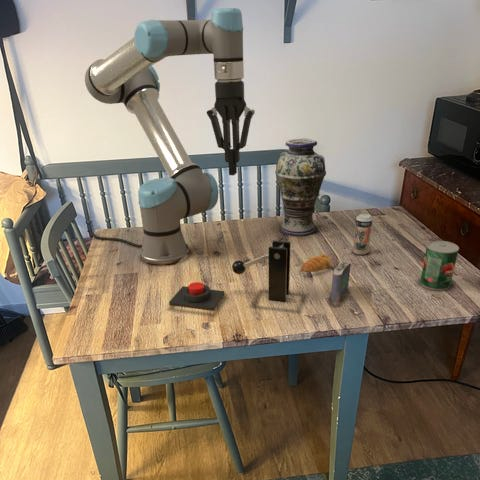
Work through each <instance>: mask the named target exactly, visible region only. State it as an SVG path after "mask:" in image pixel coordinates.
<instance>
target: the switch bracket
mask: <svg viewBox="0 0 480 480" xmlns="http://www.w3.org/2000/svg"><path fill="white" fill-rule="evenodd" d="M291 243H292V241H286V240H285V241H284V240H272V246H268V253H269V259H268V301H271V302H279V303H286V302H287V296H289V295H290V279H291ZM282 244H284V246H285V248H281V247H277V246H279V245H282Z"/></svg>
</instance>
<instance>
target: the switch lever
mask: <svg viewBox="0 0 480 480" xmlns="http://www.w3.org/2000/svg"><path fill="white" fill-rule="evenodd" d="M277 247H281V248H285V246H284V244H282V245H279V246H277ZM266 260H269V252H268V253H266V254H263V255H261V256H258V257H256V258H253V259H250V260H248V261H245V262H244V261H243V260H236V261H234V262H233V263H232V265H231V270H232V272H233V273H234V274H236V275H243V274H244V273H245V272H246V270H247V268H248V267H251V266H253V265H256V264H259V263H260V262H264V261H266Z"/></svg>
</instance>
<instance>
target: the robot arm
mask: <svg viewBox="0 0 480 480" xmlns="http://www.w3.org/2000/svg"><path fill="white" fill-rule="evenodd" d="M192 55H193V56H194V55H213V73H214V74H213V75H214V80H216V82H215V83H214V94H215V95H214V96H215V102H214V104H213V107H212V108H210V109H208V110H207V111H206V115H207V116H208V119H209V120H210V123H211V126H212V130H213V134H214V137H215V142H216V144H217V145H216V146H217V147H218V148H219V149H222V150H223V151H224V161H225V163H228V176H235V175H236V174H237V173H238V169H237V168H238V167H237V166H238V165H237V163H239V162H240V151H241V150H242V149H243V148H245V147H246V146H247V141H248V136H249V132H250V126H251V122H252V119H253V116H254V115H255V112H256V111H255V109H252V108H250V107H249V106H247V102H246V99H245V82H244V81H243V79H244V78H245V69H244V68H245V67H244V25H243V14H242V11H241V9H240V8H237V7H221V8H220V7H219V8H213V9H212V10H211V12H210V19H188V20H187V19H181V20H180V19H179V20H177V19H175V20H172V19H169V20H167V19H165V20H162V19H161V20H160V19H158V20H157V19H150V20H143V21H140V22H138V24H136V29H135V30H134V36H133V37H132V38H131V39H129V40H128V41H127V42H126V43H124V44H123V45H121V46H120V47H119V48H117V49H116V50H115V51H114V52H112V53H111V54H110V55H108V56H107V57H106V58H100V59H97V60H95V61H94V62H92V63H91V64H90V65H89V66H88V67H87V69H86V71H85V74H84V83H85V87H86V90H87V91H88V94H90V96H91V97H92V98H94V99H95V100H97V101H98V102H100V103H103V104H106V105H113V104H123V105H124V106H125V108H126V110H127V111H128V113H130V114H134V115H135V117H136V119H137V121H138V123H139V124H140V126H141V128H142V129H143V131H144V133H145V135H146V137H147V139H148V141H149V142H150V145H151V146H152V148H153V150H154V152H155V153H156V155H157V157H158V159H159V161H160V163H161V164H162V166H163V168H164V170H165V171H166V174H167V175H168V177H160V178H153V179H150V180H148V181H145V182H144V183H142V184H141V185H140V186H139V188H138V190H137V194H138V195H137V196H138V197H137V198H138V201H137V202H138V206H139V211H140V217H141V224H142V230H143V238H142V243H141V244H138V243H134V242H131V241H129V240H126V239H123V238H118V237H104V236H98V235H96V234H95V233H94V232H93V230H92V229H91V228H88V229H87V231H86V233H90V234H91V236H92V237H94V238H95V239H98V240H108V241H117V242H123V243H126V244H128V245H130V246H132V247H133V246H134V247H137V248H141V249H140V257H141V260H142V261H143V262H145V263H147V264H150V265H153V266H155V265H156V266H165V265H172V264H176V263H179V262H180V261H181V260H182V259H183V258H184V257H185V256H189V255H190V248H189V245H188V243H187V242H186V240H185V237H184V234H183V232H182V228H181V220H183V219H187V218H190V217H193V216H196V215H199V214H204V213H206V212H208V211H210V210H212V209H214V208H215V207H216V205H217V203H218V201H219V193H220V191H219V186H218V182H217V180H216V178H215V177H214V175H213V174H212V173H209V172H203V170H202V168H201V167H200V165H199V164H197V163H193V162H192V160H191V159H190V156H189V155H188V153H187V151H186V149H185V147H184V145H183V144H182V142H181V140H180V138H179V137H178V135H177V133H176V131H175V129H174V127H173V125H172V124H171V122H170V121H169V118H168V116H167V115H166V113H165V110H164V109H163V107H162V106H161V104H160V102H159V99H160V89H161V83H160V82H159V80H160V79H159V74H158V73H157V71H156V69H155V68H154V67H153V66H154V65H155V64H157V63H159V62H160V61H162V60H163V59H165V58H168V57H175V56H176V57H177V56H192ZM218 114H219V116H220V118H221V123H222V129H221V125H220V121H219V117H218ZM243 115H244V119H243V125H242V129H241V133H240V118H241V116H243ZM231 131H232V132H231ZM231 133H232V134H231ZM240 134H241V135H240ZM231 136H232V137H231ZM231 138H232V139H231Z"/></svg>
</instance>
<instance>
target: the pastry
mask: <svg viewBox="0 0 480 480" xmlns="http://www.w3.org/2000/svg"><path fill="white" fill-rule="evenodd" d="M332 268H333V263H332V260H331V258H330V256H328V255H327V254H318V255H315V256H312V257H310V258H308V259H307V260H306V261H304V263H303V264H302V265H301V266H300V269H301V271H303V272H306V273H313V272H319V271H324V270H326V269H329V270H330V269H332Z"/></svg>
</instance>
